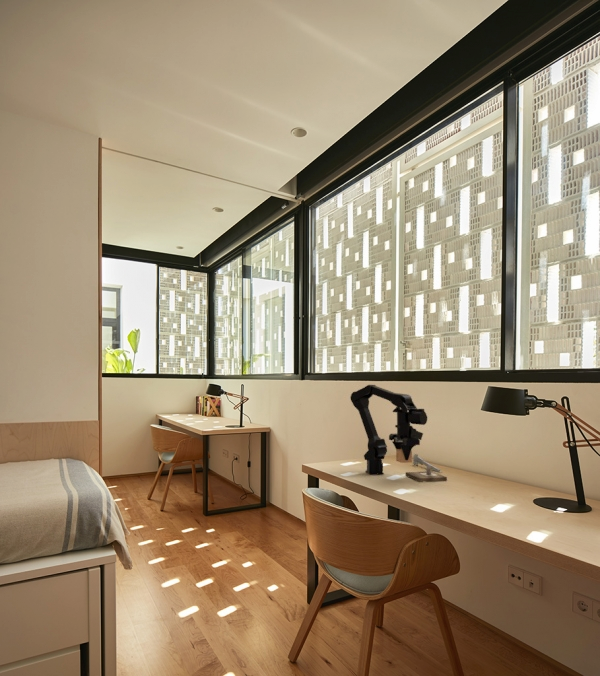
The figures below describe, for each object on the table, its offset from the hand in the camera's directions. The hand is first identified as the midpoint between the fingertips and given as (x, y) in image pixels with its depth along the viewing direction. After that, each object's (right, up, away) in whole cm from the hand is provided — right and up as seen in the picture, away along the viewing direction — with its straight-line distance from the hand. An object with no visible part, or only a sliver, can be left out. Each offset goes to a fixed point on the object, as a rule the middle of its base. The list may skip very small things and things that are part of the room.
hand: (404, 459), depth 201 cm
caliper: (+17, -11, +24) cm, 31 cm away
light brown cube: (0, -1, 0) cm, 1 cm away
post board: (+10, -9, +2) cm, 13 cm away
